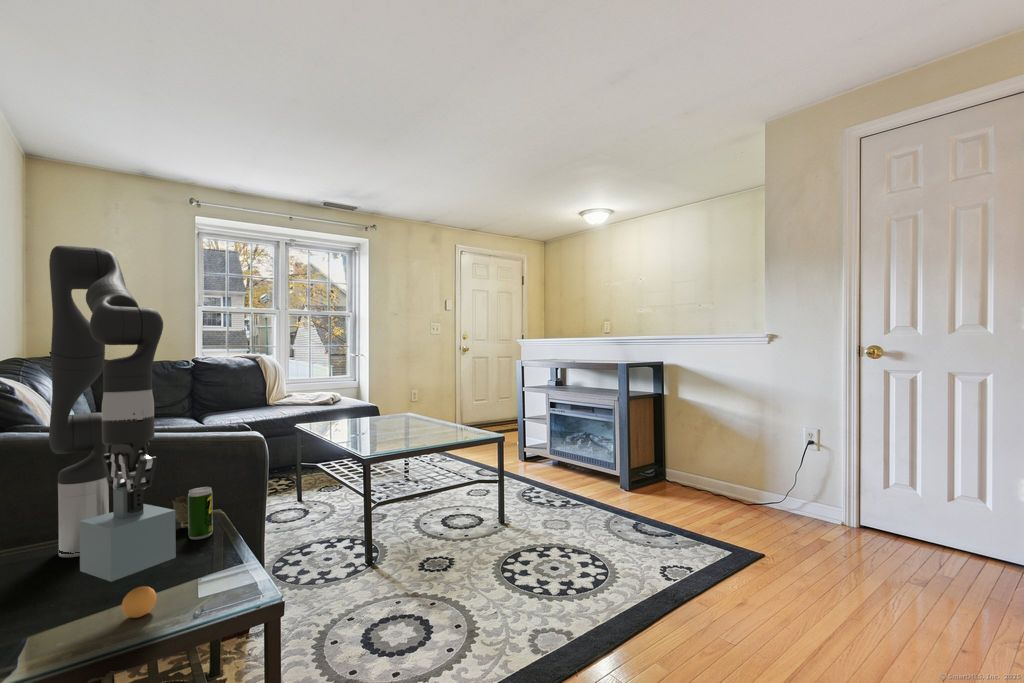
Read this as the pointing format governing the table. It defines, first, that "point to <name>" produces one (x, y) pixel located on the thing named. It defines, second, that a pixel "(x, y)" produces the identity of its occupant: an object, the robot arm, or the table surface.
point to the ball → (139, 601)
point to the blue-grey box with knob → (126, 539)
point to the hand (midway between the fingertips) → (129, 510)
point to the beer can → (200, 513)
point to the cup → (181, 510)
